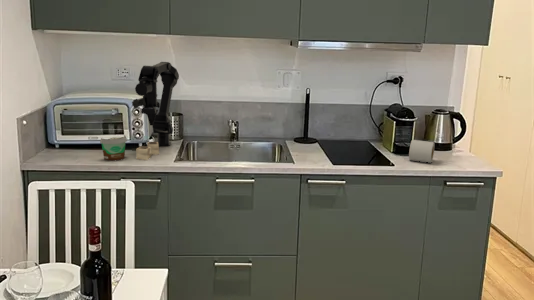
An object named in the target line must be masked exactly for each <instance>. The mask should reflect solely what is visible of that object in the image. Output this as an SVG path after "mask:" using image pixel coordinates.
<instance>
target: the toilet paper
mask: <svg viewBox="0 0 534 300" xmlns="http://www.w3.org/2000/svg"><path fill="white" fill-rule="evenodd" d="M408 151H409V152H408V159H409V161H414V162H419V161H420V163H426V162H428V164H432V163H433V160H434V153H435V142H433V141H427V140H419V139H412V140H411V141H410V146H409V150H408ZM431 162H432V163H431Z"/></svg>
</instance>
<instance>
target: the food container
mask: <svg viewBox="0 0 534 300" xmlns="http://www.w3.org/2000/svg"><path fill="white" fill-rule="evenodd" d="M127 142H128V139H127V136H126V134H124V135H123V137H110V138H103V137H101V138H100V144H101V148H102V155H103V160H104V161H105V160H106V161H114V162H115V160H116V161H121V159H122V160H123V159H125V156H126V155H125V153H126V143H127Z"/></svg>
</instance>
